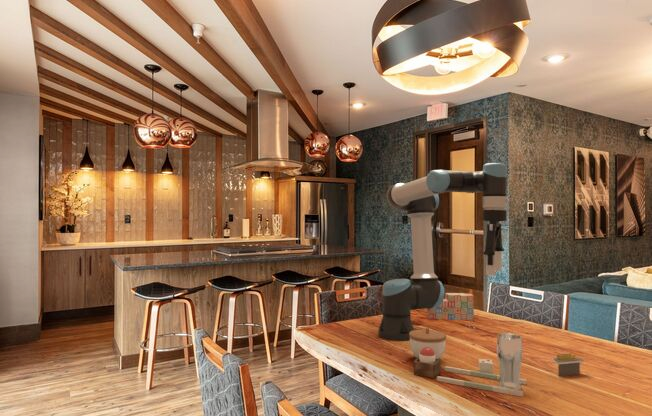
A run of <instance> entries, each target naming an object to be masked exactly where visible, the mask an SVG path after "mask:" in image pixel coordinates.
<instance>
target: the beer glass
mask: <svg viewBox="0 0 652 416" xmlns="http://www.w3.org/2000/svg"><path fill="white" fill-rule="evenodd" d="M522 338H523V337H522V336H521V335H519V334H516V333H511V332H501V333H498V334H497V339H496V356H497V362H498V367H499V368H498V369H499V375H500V380H498V387H503V388H508V389H514V390H519V391H522V386H521V385H522V384H520V379H521V377H520V373H521V367H522V362H523V341H522Z"/></svg>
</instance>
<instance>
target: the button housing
mask: <svg viewBox="0 0 652 416" xmlns="http://www.w3.org/2000/svg"><path fill="white" fill-rule="evenodd" d="M412 363H413V364H412V365H413V371H412V372H413V375H416V376H422V377H426V378H433V379H437V376H439V374H441V372H442V359H441V358H440V359H439V358H435V363H434V364H430V363H424V362H419V357H418V358H415V359H414V361H413V362H412Z"/></svg>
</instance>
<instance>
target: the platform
mask: <svg viewBox="0 0 652 416" xmlns="http://www.w3.org/2000/svg"><path fill="white" fill-rule="evenodd" d="M552 362H554V363H555V364H556V365H557V366H558V367H557V368H558V374H557V375H558V377H563V376H573V375H580V374H581V373H580V371H581V369H580V368H581V365H580V364H581V363H585V359H582V358H579V357H576V354H572V353H560V354H556V357H554V358H552Z"/></svg>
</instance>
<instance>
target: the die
mask: <svg viewBox="0 0 652 416" xmlns="http://www.w3.org/2000/svg"><path fill="white" fill-rule="evenodd" d="M478 372H484V373H490V374H494V363H493V360H492V359H485V358H478Z"/></svg>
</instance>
